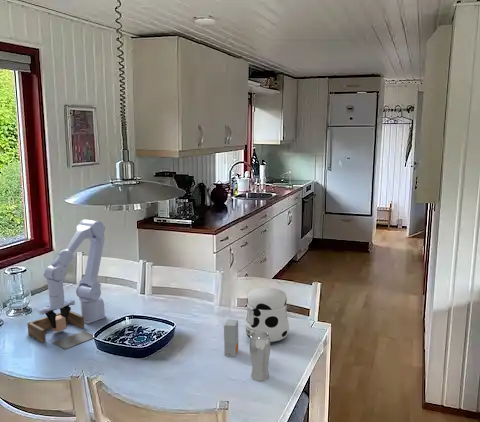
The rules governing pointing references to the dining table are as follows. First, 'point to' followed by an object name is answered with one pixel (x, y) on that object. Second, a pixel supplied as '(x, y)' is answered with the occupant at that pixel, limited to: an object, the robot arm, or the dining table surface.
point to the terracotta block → (60, 323)
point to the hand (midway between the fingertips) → (59, 325)
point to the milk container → (267, 313)
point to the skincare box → (231, 338)
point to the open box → (38, 332)
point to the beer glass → (260, 355)
